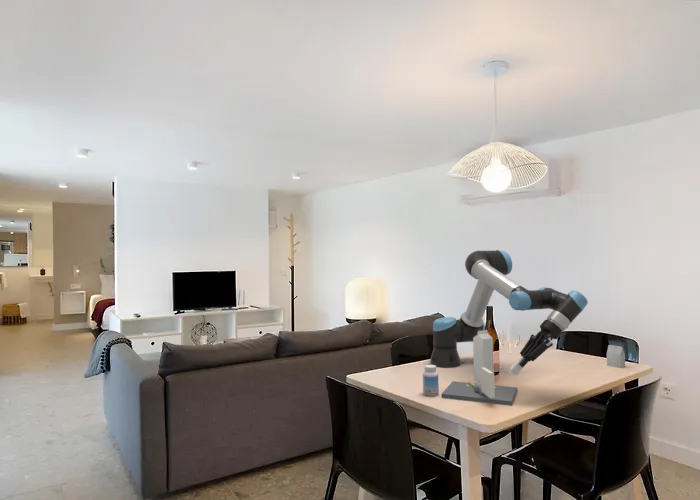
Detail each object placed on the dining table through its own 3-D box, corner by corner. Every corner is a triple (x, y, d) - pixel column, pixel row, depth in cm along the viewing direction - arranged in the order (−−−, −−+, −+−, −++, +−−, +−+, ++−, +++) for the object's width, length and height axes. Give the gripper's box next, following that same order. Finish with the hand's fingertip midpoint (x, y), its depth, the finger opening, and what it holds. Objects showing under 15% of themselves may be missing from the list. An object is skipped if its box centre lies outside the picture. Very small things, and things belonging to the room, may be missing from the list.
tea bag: (620, 368, 223) (620, 347, 224) (606, 365, 229) (606, 345, 229) (625, 367, 225) (624, 346, 225) (611, 364, 231) (610, 344, 231)
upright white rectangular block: (464, 383, 194) (464, 358, 194) (473, 383, 194) (472, 358, 194) (487, 401, 169) (487, 373, 169) (497, 401, 169) (496, 373, 169)
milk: (493, 381, 204) (493, 330, 204) (483, 383, 201) (483, 331, 201) (483, 378, 209) (482, 328, 210) (473, 379, 206) (472, 330, 207)
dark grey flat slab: (441, 397, 181) (441, 393, 181) (452, 384, 199) (452, 380, 199) (511, 405, 170) (511, 400, 170) (517, 391, 188) (517, 386, 188)
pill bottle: (441, 394, 185) (441, 366, 185) (430, 397, 181) (429, 368, 182) (431, 391, 190) (430, 363, 190) (420, 393, 186) (419, 365, 187)
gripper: (571, 334, 170) (528, 383, 168) (552, 329, 183) (512, 374, 180) (556, 320, 169) (514, 368, 167) (538, 316, 182) (499, 361, 180)
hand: (513, 371), depth 174 cm, fingers closed
